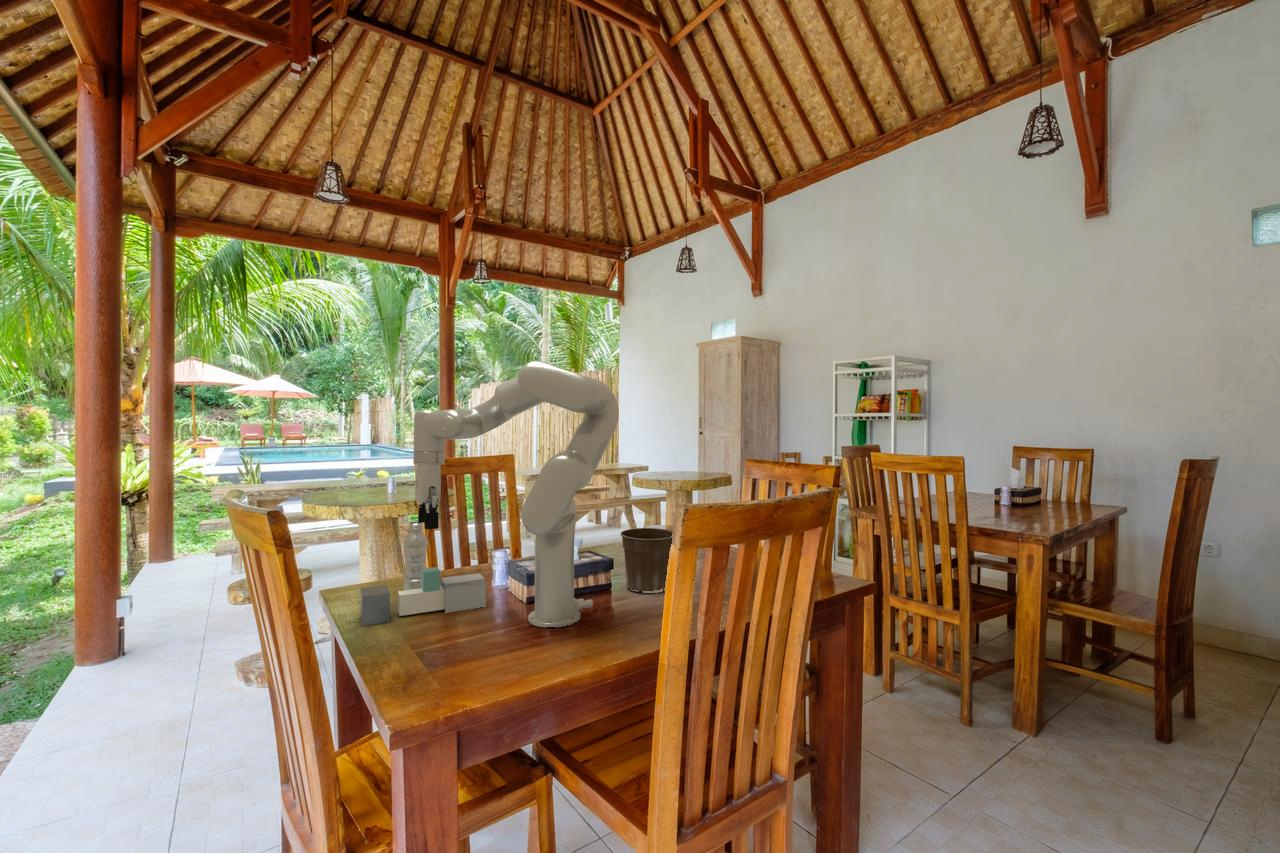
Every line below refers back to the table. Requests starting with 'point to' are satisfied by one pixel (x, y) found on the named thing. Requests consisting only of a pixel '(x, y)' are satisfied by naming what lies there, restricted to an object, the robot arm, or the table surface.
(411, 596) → the long white box
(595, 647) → the table surface
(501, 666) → the table surface
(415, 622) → the table surface
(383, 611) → the socket block
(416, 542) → the plastic bottle
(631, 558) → the plant pot
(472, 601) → the gray rectangular block
